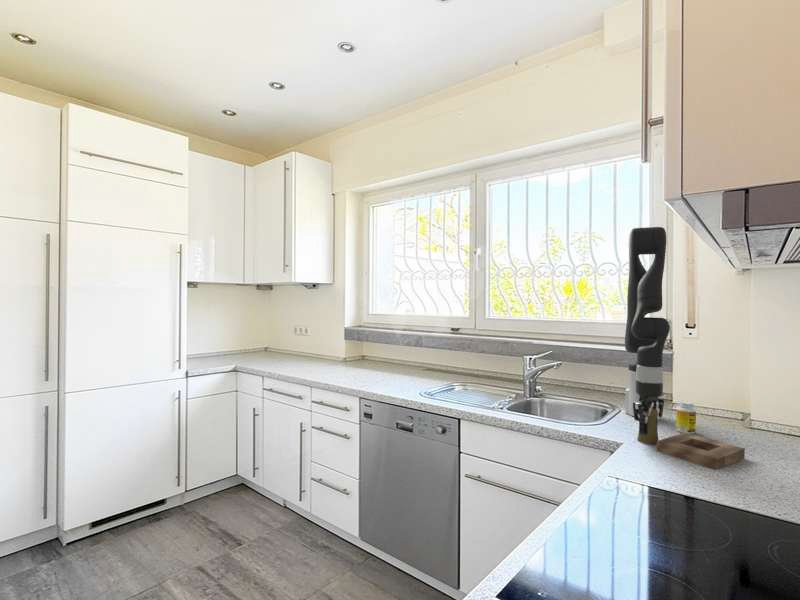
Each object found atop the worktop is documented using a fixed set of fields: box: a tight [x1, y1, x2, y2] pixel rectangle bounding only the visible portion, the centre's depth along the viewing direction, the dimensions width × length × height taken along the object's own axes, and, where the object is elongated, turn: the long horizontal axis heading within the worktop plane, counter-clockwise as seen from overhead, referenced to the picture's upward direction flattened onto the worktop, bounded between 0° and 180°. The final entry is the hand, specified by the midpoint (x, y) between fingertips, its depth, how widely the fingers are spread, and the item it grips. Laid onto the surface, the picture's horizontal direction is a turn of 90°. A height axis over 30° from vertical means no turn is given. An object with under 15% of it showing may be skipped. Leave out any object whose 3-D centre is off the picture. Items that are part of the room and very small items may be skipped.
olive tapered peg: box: [637, 408, 660, 446], centre depth 138 cm, size 6×6×11 cm
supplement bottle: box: [675, 400, 697, 435], centre depth 147 cm, size 6×6×10 cm
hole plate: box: [656, 432, 746, 471], centre depth 127 cm, size 16×16×3 cm
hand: (648, 432), depth 138 cm, fingers open, 5 cm apart
